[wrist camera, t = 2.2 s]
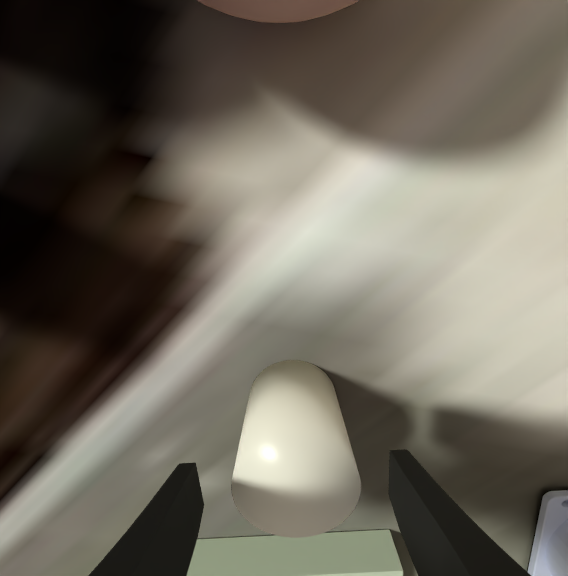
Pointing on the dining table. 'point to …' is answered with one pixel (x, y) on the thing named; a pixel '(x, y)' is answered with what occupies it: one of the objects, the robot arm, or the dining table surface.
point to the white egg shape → (294, 454)
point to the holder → (298, 555)
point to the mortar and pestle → (278, 9)
